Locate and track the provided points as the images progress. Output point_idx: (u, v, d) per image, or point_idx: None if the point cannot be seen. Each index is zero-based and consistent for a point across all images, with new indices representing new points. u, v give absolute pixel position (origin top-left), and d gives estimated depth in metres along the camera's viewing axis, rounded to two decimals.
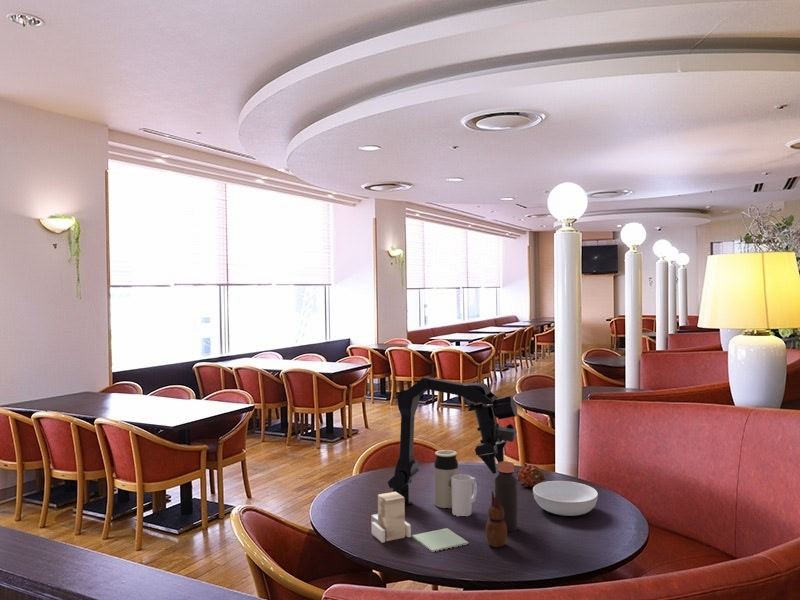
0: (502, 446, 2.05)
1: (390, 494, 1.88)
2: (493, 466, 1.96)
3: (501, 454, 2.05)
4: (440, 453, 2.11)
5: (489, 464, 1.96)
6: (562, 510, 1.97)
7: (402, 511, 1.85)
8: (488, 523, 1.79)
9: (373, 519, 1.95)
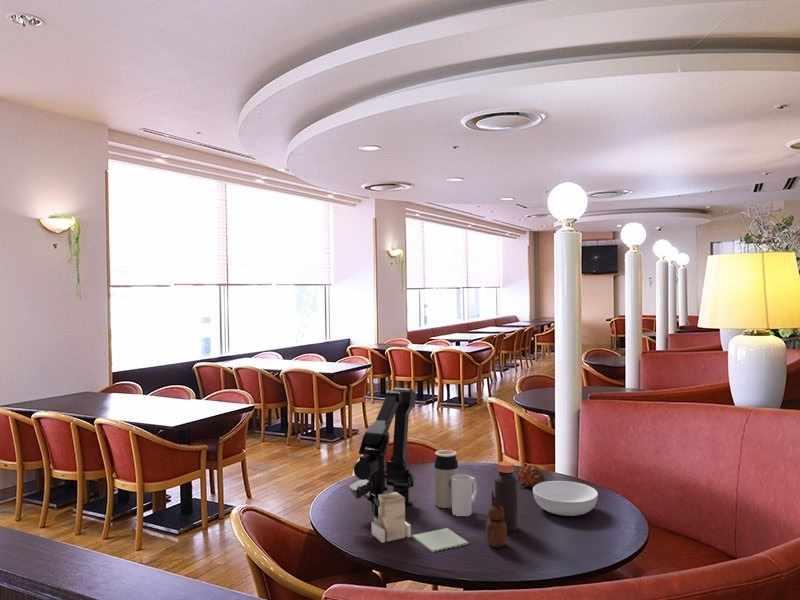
0: None
1: (390, 494, 1.88)
2: None
3: None
4: (440, 453, 2.11)
5: None
6: (562, 510, 1.97)
7: (403, 511, 1.85)
8: (488, 523, 1.79)
9: (375, 520, 1.94)
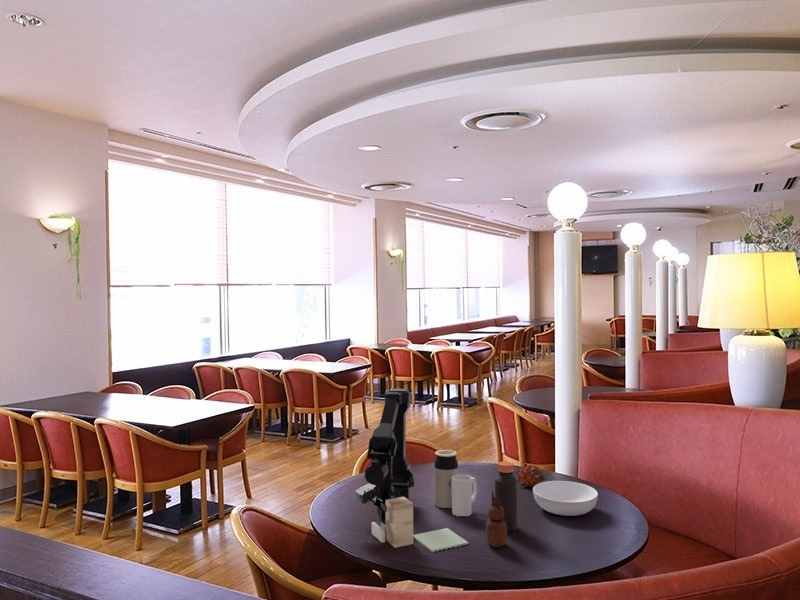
0: None
1: (398, 499, 1.83)
2: None
3: None
4: (440, 453, 2.11)
5: None
6: (562, 510, 1.97)
7: (411, 516, 1.81)
8: (488, 523, 1.79)
9: (382, 525, 1.89)
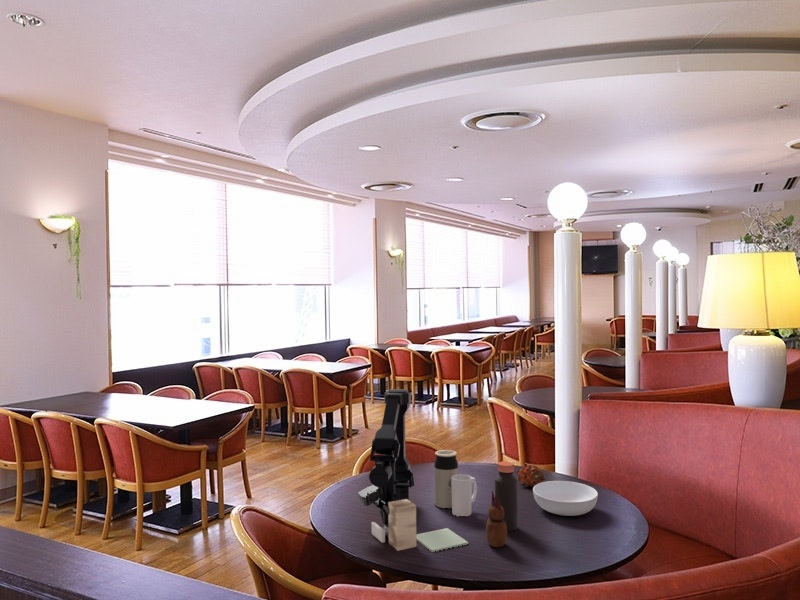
0: None
1: (401, 502, 1.82)
2: None
3: None
4: (440, 453, 2.11)
5: None
6: (562, 510, 1.97)
7: (414, 519, 1.79)
8: (488, 523, 1.79)
9: (385, 529, 1.87)
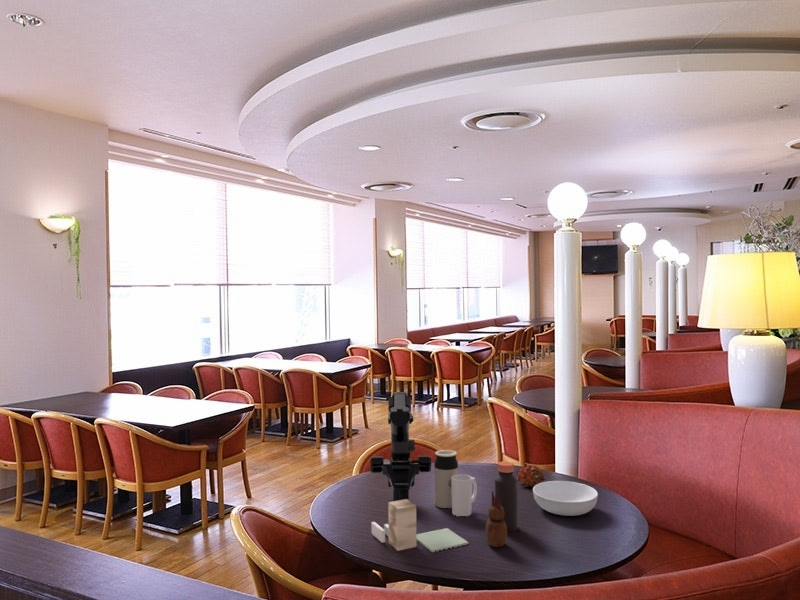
0: (409, 468, 1.91)
1: (401, 502, 1.81)
2: (390, 481, 1.89)
3: (408, 477, 1.90)
4: (440, 453, 2.11)
5: (390, 480, 1.90)
6: (562, 510, 1.97)
7: (414, 519, 1.79)
8: (488, 523, 1.79)
9: (385, 529, 1.87)
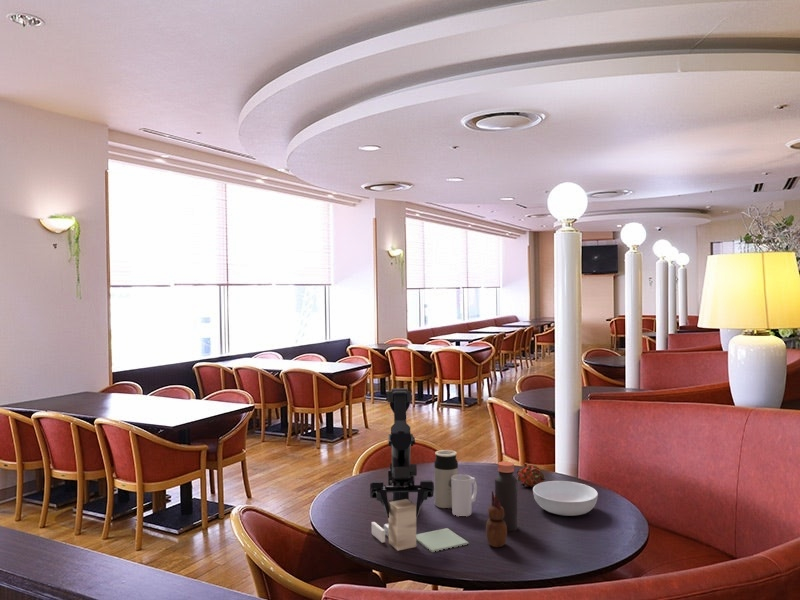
0: None
1: (401, 501, 1.81)
2: (385, 508, 1.80)
3: None
4: (440, 453, 2.11)
5: (384, 507, 1.81)
6: (562, 510, 1.97)
7: (414, 519, 1.78)
8: (488, 523, 1.79)
9: (385, 529, 1.87)
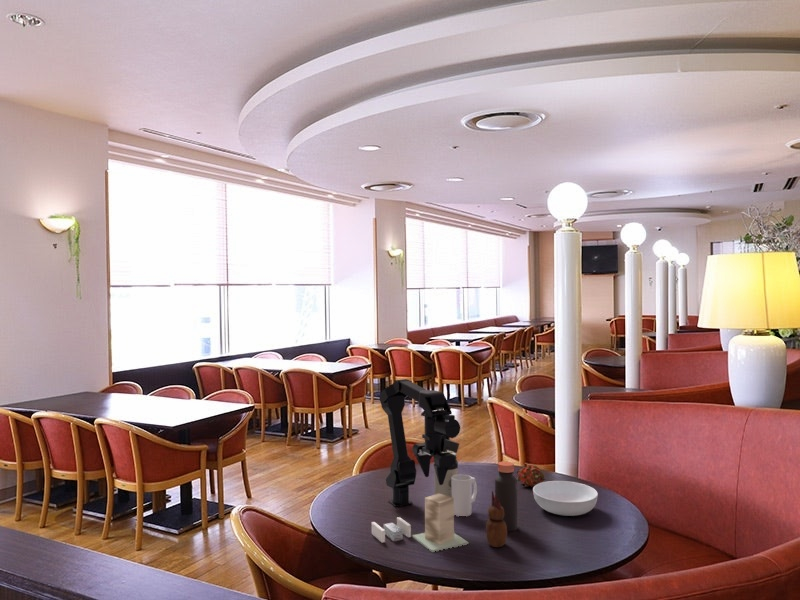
0: (430, 457, 2.03)
1: (436, 496, 1.84)
2: (443, 477, 1.93)
3: (428, 465, 2.02)
4: None
5: (441, 475, 1.92)
6: (562, 510, 1.97)
7: (452, 512, 1.82)
8: (488, 523, 1.79)
9: (385, 528, 1.88)
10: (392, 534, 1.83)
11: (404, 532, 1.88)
